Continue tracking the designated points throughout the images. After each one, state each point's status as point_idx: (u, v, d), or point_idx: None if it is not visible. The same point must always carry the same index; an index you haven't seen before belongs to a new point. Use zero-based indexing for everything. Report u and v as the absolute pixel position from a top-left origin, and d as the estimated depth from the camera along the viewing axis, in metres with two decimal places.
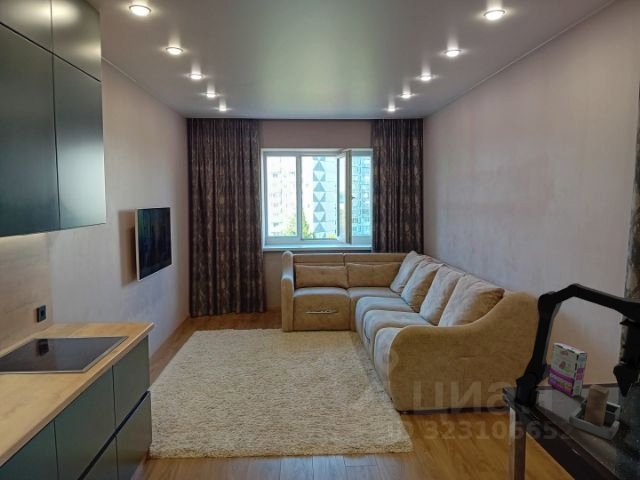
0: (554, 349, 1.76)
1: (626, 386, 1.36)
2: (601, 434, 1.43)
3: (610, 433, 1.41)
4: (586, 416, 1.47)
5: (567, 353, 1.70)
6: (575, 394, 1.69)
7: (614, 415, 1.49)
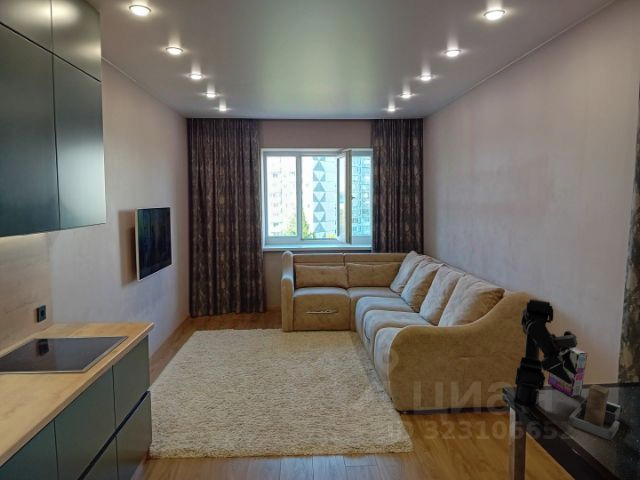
0: None
1: (563, 373, 1.47)
2: (601, 434, 1.43)
3: (610, 433, 1.41)
4: (586, 416, 1.47)
5: None
6: (575, 394, 1.69)
7: (614, 415, 1.49)
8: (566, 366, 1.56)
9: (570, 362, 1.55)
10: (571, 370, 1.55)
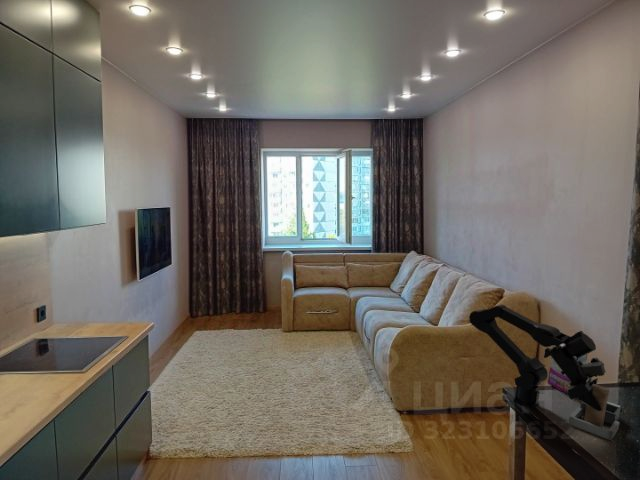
0: None
1: (592, 400, 1.45)
2: (601, 434, 1.43)
3: (610, 433, 1.41)
4: (586, 416, 1.47)
5: None
6: None
7: (614, 415, 1.49)
8: None
9: None
10: None
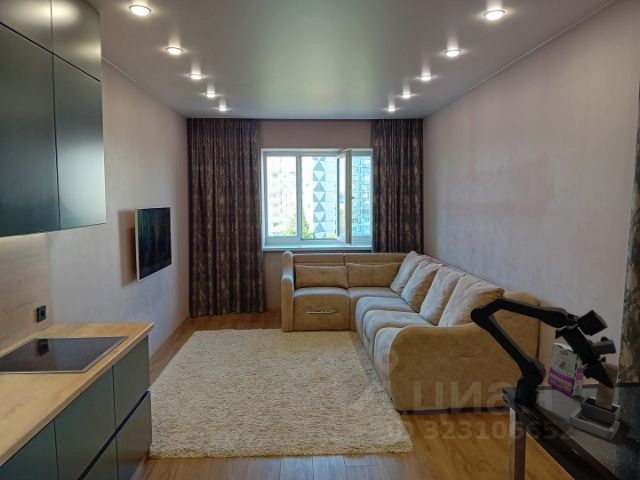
0: (554, 349, 1.76)
1: (605, 378, 1.46)
2: (601, 434, 1.43)
3: (610, 433, 1.41)
4: (598, 394, 1.48)
5: (567, 353, 1.70)
6: (575, 394, 1.69)
7: (614, 415, 1.49)
8: None
9: None
10: None
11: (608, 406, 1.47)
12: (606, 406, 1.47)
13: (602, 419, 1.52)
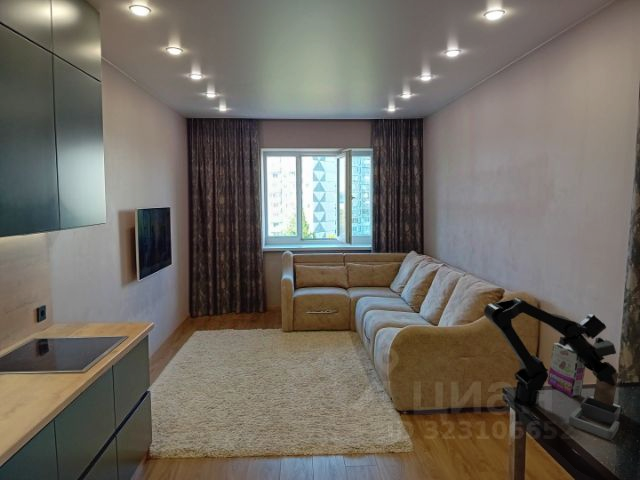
0: (554, 349, 1.76)
1: (609, 378, 1.57)
2: (601, 434, 1.43)
3: (610, 433, 1.41)
4: (601, 397, 1.60)
5: (567, 353, 1.70)
6: (575, 394, 1.69)
7: (614, 415, 1.49)
8: None
9: None
10: None
11: None
12: None
13: (602, 419, 1.52)
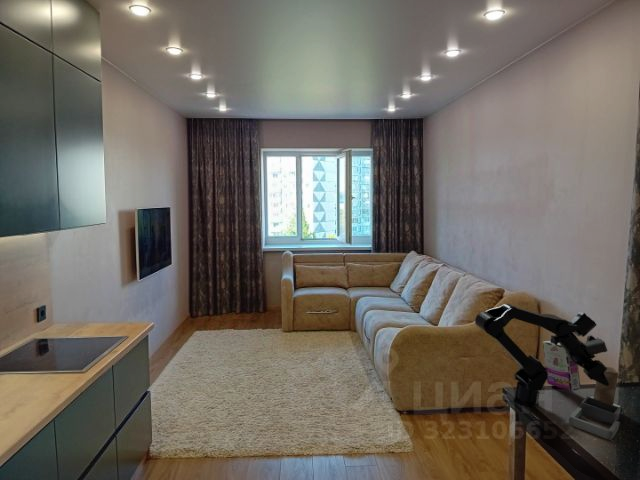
0: (544, 347, 1.77)
1: (603, 377, 1.56)
2: (601, 434, 1.43)
3: (610, 433, 1.41)
4: (601, 397, 1.60)
5: (556, 348, 1.72)
6: (574, 388, 1.69)
7: (614, 415, 1.49)
8: None
9: None
10: None
11: None
12: None
13: (602, 419, 1.52)
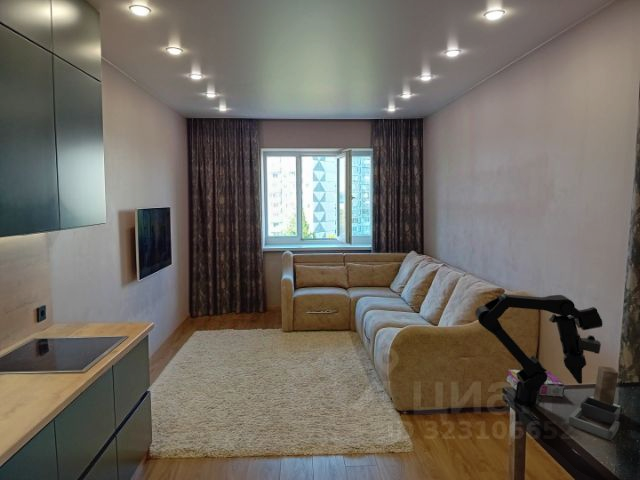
0: None
1: (578, 373, 1.51)
2: (601, 434, 1.43)
3: (610, 433, 1.41)
4: (601, 397, 1.60)
5: None
6: (561, 392, 1.68)
7: (614, 415, 1.49)
8: None
9: None
10: None
11: None
12: None
13: (602, 419, 1.52)
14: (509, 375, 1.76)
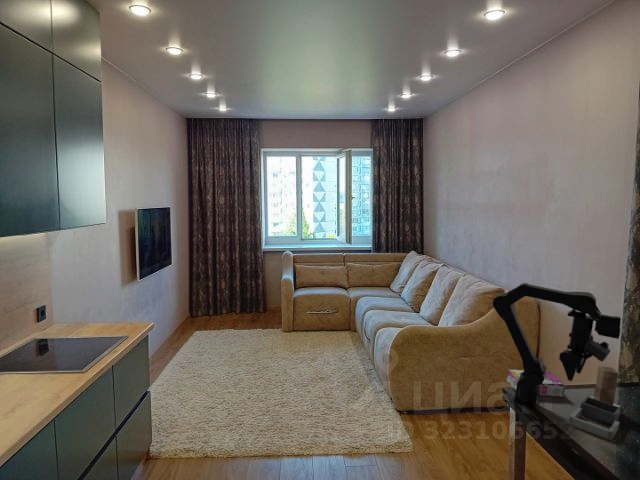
0: None
1: (571, 371, 1.49)
2: (601, 434, 1.43)
3: (610, 433, 1.41)
4: (601, 397, 1.60)
5: None
6: (561, 392, 1.68)
7: (614, 415, 1.49)
8: None
9: (583, 362, 1.56)
10: (577, 368, 1.57)
11: None
12: None
13: (602, 419, 1.52)
14: (509, 375, 1.76)
